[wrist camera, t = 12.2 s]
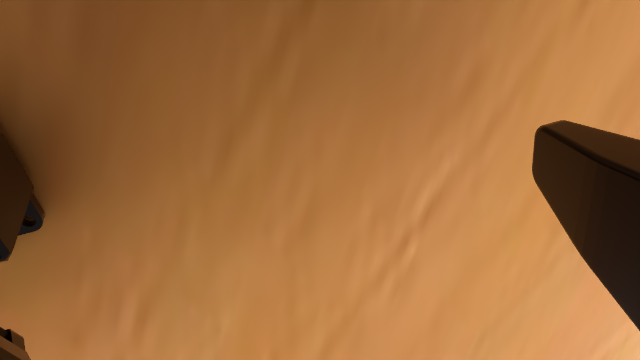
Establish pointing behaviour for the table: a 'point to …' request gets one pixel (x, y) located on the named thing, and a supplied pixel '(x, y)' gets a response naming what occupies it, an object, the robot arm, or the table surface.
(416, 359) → the table surface
